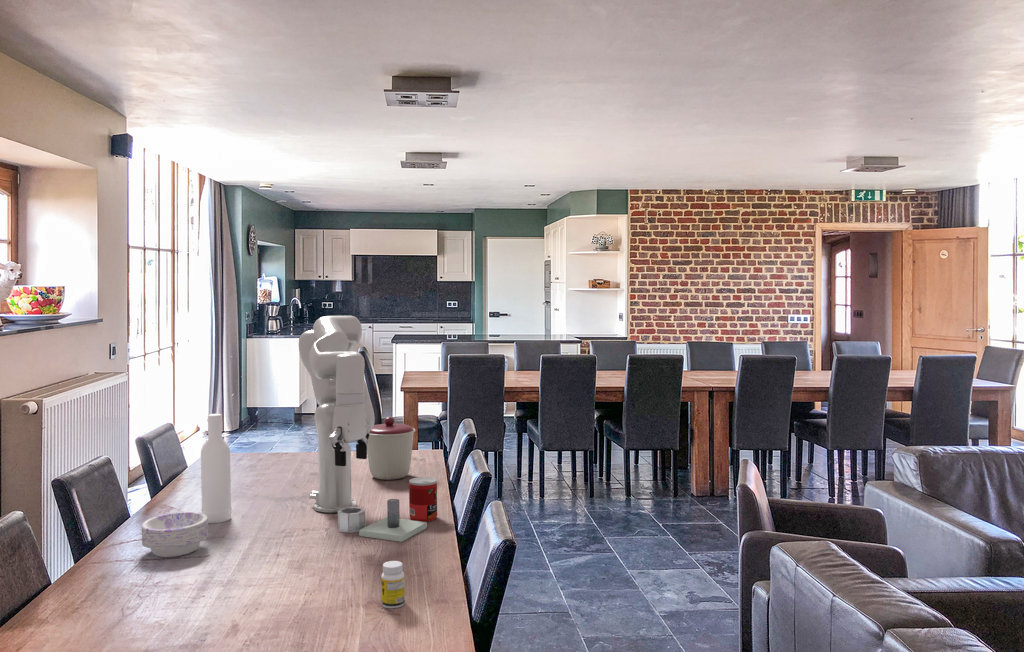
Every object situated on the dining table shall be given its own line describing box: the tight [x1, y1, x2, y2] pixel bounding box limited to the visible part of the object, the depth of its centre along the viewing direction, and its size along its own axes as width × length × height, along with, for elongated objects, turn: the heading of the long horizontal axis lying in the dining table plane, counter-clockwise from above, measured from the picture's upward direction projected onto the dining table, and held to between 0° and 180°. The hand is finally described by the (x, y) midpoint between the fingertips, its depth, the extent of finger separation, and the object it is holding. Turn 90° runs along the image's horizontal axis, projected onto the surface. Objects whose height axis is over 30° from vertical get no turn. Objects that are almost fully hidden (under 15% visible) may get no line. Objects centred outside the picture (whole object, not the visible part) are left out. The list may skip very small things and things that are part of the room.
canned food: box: [408, 476, 438, 523], centre depth 219 cm, size 8×8×11 cm
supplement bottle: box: [380, 560, 406, 609], centre depth 157 cm, size 5×5×8 cm
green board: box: [358, 516, 428, 543], centre depth 206 cm, size 13×13×2 cm
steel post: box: [386, 498, 401, 528], centre depth 206 cm, size 3×3×7 cm
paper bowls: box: [141, 511, 209, 558], centre depth 191 cm, size 15×15×8 cm
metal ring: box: [337, 506, 367, 534], centre depth 209 cm, size 7×7×5 cm
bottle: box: [200, 413, 233, 524], centre depth 218 cm, size 8×8×30 cm
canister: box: [366, 416, 416, 481], centre depth 269 cm, size 18×18×21 cm
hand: (351, 462), depth 208 cm, fingers open, 9 cm apart
